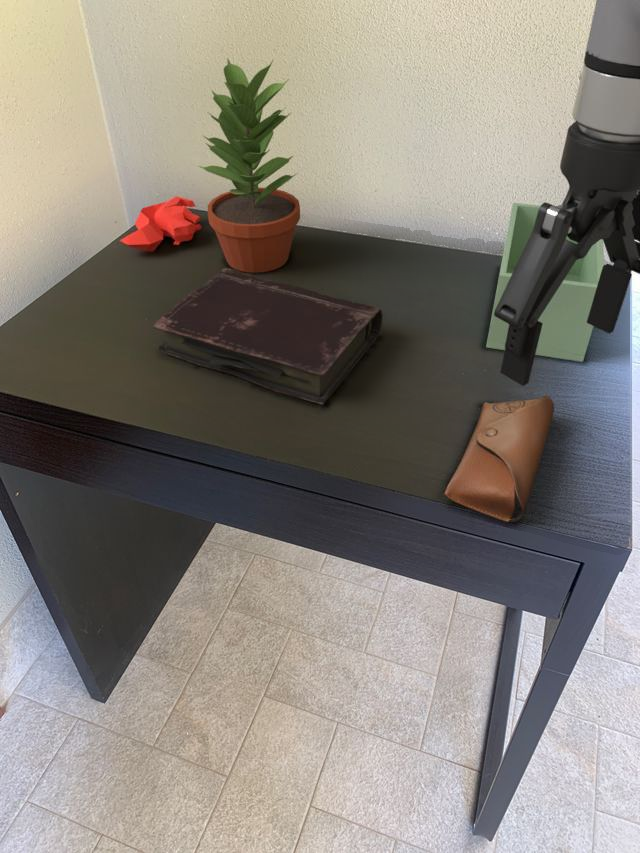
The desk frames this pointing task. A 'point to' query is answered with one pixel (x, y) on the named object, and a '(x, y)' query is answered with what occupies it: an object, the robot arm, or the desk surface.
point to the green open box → (568, 306)
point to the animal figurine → (163, 224)
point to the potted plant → (250, 178)
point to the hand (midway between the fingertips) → (558, 351)
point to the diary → (271, 333)
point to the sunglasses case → (502, 458)
